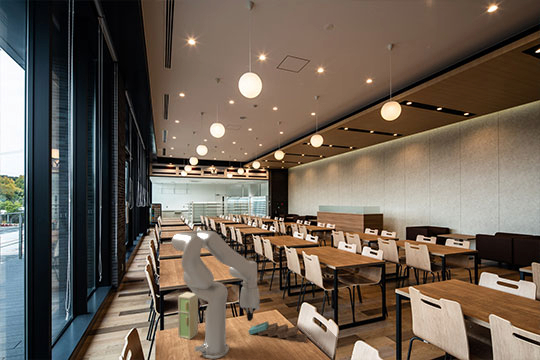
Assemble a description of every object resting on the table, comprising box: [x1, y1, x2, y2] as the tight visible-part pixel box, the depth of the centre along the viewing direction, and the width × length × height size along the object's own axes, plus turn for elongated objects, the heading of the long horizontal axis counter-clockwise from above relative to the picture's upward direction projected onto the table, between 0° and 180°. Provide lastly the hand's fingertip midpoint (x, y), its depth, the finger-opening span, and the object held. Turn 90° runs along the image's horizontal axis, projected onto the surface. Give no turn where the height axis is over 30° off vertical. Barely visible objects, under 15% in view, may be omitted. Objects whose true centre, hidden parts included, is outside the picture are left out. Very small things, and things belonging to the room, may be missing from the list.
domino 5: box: [285, 333, 308, 344], centre depth 136 cm, size 2×5×10 cm
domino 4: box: [276, 325, 299, 340], centre depth 137 cm, size 2×5×10 cm
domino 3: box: [267, 323, 289, 338], centre depth 140 cm, size 2×5×10 cm
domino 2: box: [257, 322, 279, 337], centre depth 141 cm, size 2×5×10 cm
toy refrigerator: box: [177, 291, 199, 340], centre depth 142 cm, size 8×7×21 cm
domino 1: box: [248, 321, 270, 336], centre depth 142 cm, size 2×5×10 cm
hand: (249, 319), depth 144 cm, fingers closed
